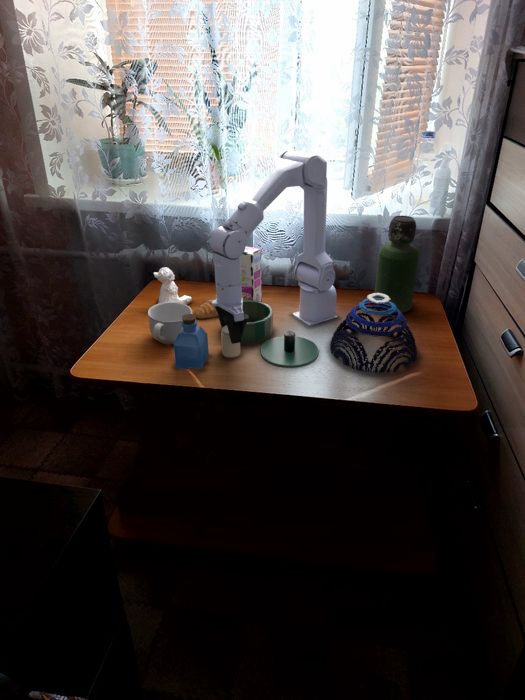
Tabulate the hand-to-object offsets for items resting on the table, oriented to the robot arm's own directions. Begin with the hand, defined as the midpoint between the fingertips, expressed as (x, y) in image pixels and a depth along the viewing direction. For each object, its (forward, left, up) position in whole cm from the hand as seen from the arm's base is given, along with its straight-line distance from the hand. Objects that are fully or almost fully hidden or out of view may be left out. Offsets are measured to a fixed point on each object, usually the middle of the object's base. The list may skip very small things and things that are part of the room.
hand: (231, 334), depth 127 cm
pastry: (-5, -21, -6) cm, 23 cm away
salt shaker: (0, 0, -5) cm, 5 cm away
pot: (-8, -7, -5) cm, 12 cm away
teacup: (+11, -13, -6) cm, 18 cm away
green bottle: (-50, +1, -6) cm, 51 cm away
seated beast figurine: (+3, -31, -6) cm, 32 cm away
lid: (-12, +7, -5) cm, 15 cm away
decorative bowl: (-29, +17, -6) cm, 34 cm away
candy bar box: (-15, -23, -6) cm, 29 cm away
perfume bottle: (+10, -1, -6) cm, 11 cm away
